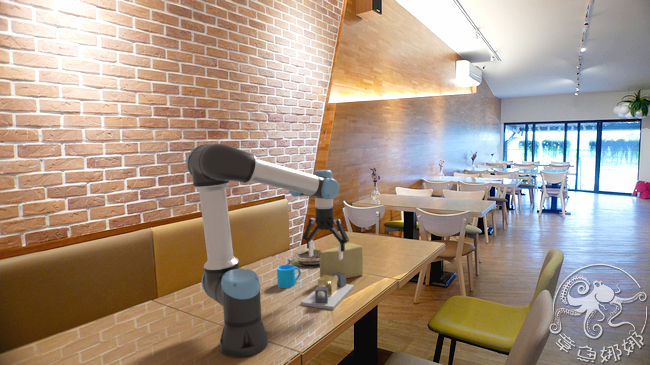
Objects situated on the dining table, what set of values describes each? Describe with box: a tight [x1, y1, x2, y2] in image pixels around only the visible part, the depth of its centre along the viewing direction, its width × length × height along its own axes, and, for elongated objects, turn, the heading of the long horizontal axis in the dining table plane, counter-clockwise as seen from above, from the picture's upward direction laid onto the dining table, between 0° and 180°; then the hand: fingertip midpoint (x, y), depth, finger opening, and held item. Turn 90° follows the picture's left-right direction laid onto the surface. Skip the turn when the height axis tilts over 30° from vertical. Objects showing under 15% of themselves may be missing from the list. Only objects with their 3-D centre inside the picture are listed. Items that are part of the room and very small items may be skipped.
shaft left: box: [314, 285, 328, 303], centre depth 151 cm, size 7×5×5 cm
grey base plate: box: [300, 283, 355, 311], centre depth 158 cm, size 24×14×1 cm, turn 156°
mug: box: [276, 264, 302, 289], centre depth 174 cm, size 12×8×8 cm
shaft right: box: [332, 272, 347, 288], centre depth 165 cm, size 7×5×5 cm
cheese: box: [319, 242, 364, 279], centre depth 178 cm, size 22×10×15 cm, turn 127°
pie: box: [288, 248, 323, 267], centre depth 206 cm, size 28×27×5 cm
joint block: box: [317, 275, 337, 295], centre depth 159 cm, size 6×6×6 cm
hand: (325, 257), depth 157 cm, fingers open, 13 cm apart
